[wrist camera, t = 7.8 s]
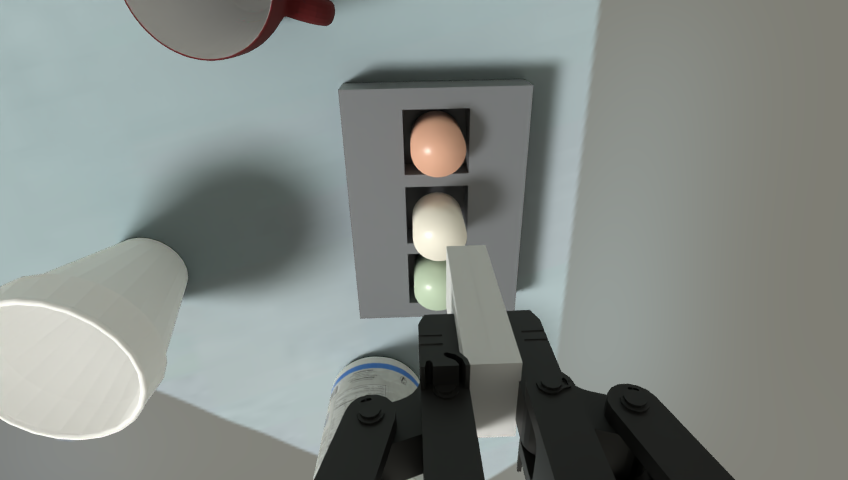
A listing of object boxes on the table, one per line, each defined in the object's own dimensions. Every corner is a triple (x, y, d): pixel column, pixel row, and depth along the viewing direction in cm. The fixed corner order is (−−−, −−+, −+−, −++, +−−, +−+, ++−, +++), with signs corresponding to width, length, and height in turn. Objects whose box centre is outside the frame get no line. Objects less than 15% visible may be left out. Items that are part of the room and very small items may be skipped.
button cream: (411, 193, 37) (412, 213, 34) (462, 191, 38) (467, 211, 34) (413, 238, 39) (413, 261, 36) (461, 236, 39) (466, 260, 36)
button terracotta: (409, 111, 37) (409, 123, 33) (461, 110, 37) (466, 122, 33) (411, 161, 38) (411, 178, 35) (460, 160, 38) (465, 176, 35)
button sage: (413, 247, 42) (413, 270, 38) (458, 246, 42) (462, 269, 38) (414, 285, 44) (415, 311, 40) (457, 284, 44) (462, 309, 40)
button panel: (343, 83, 36) (338, 90, 34) (524, 79, 37) (533, 85, 34) (363, 299, 46) (360, 318, 43) (507, 295, 46) (514, 313, 43)
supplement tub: (433, 405, 52) (442, 542, 39) (354, 428, 53) (337, 567, 40) (403, 340, 48) (401, 468, 35) (317, 366, 49) (284, 500, 36)
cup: (214, 335, 47) (147, 453, 35) (81, 311, 45) (-39, 427, 33) (223, 226, 42) (147, 320, 29) (73, 194, 40) (-74, 281, 28)
